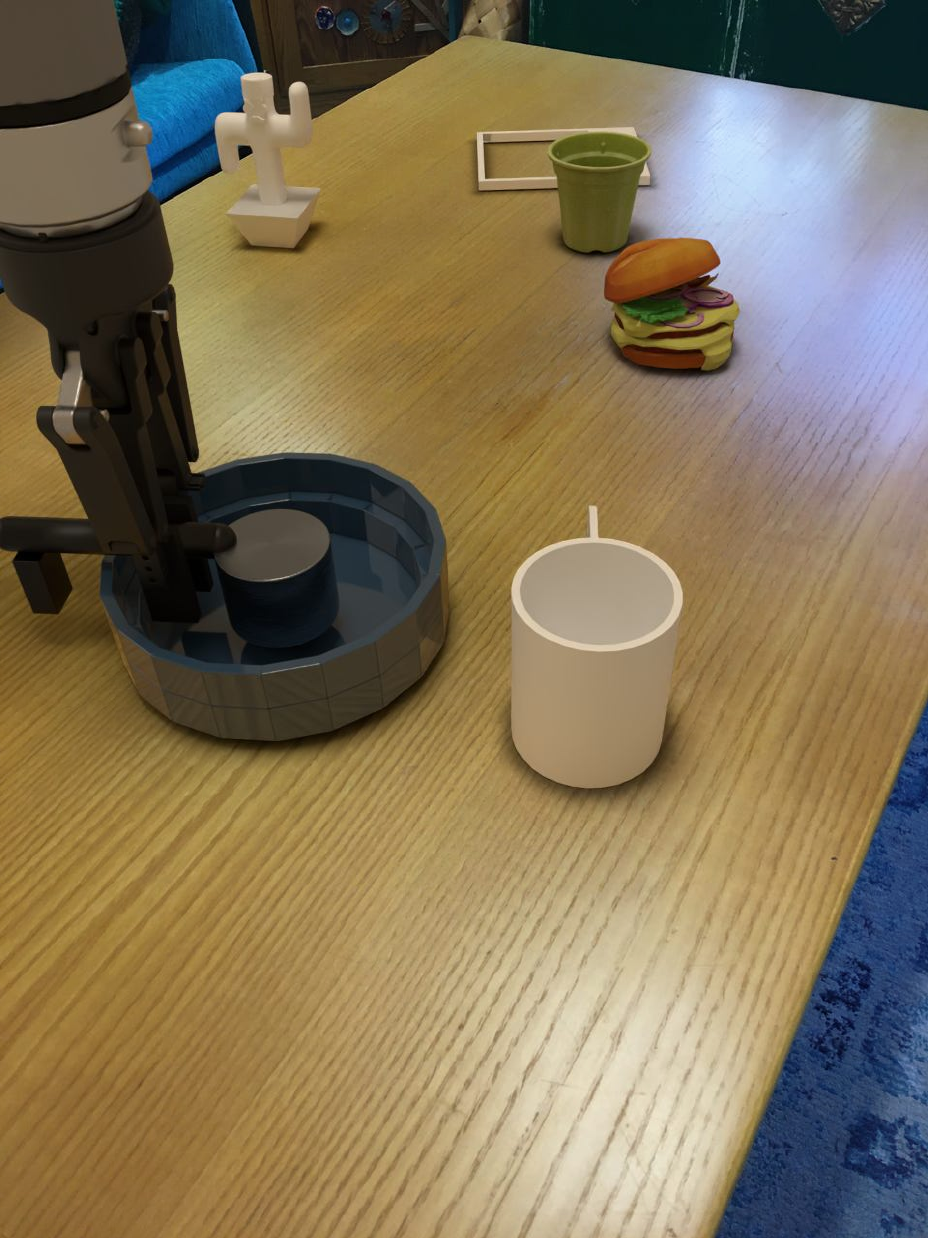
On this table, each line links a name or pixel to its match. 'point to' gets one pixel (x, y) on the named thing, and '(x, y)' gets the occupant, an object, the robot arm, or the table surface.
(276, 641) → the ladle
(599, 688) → the cup
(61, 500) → the table surface
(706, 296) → the cheeseburger
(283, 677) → the bowl
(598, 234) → the plant pot
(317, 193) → the figurine
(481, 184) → the photo frame
